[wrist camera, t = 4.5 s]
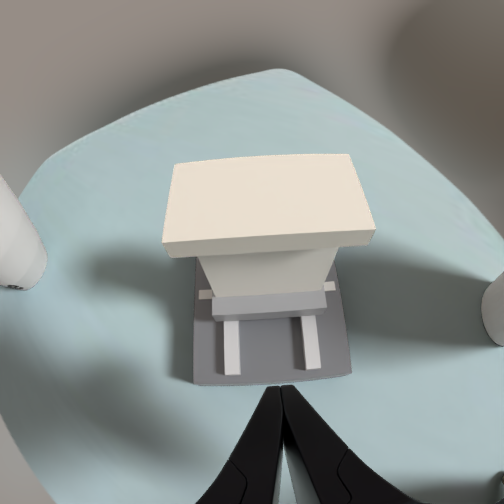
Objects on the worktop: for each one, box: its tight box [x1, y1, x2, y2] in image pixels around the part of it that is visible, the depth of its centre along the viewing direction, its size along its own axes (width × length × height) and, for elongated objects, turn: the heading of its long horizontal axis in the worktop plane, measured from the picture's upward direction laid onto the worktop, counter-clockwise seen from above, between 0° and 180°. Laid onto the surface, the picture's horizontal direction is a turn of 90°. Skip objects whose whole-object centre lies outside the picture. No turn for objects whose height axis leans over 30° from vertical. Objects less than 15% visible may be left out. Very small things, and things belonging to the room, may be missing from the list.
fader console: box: [193, 256, 352, 386], centre depth 19 cm, size 16×9×3 cm, turn 3°
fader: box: [162, 154, 376, 322], centre depth 13 cm, size 4×7×8 cm, turn 93°
